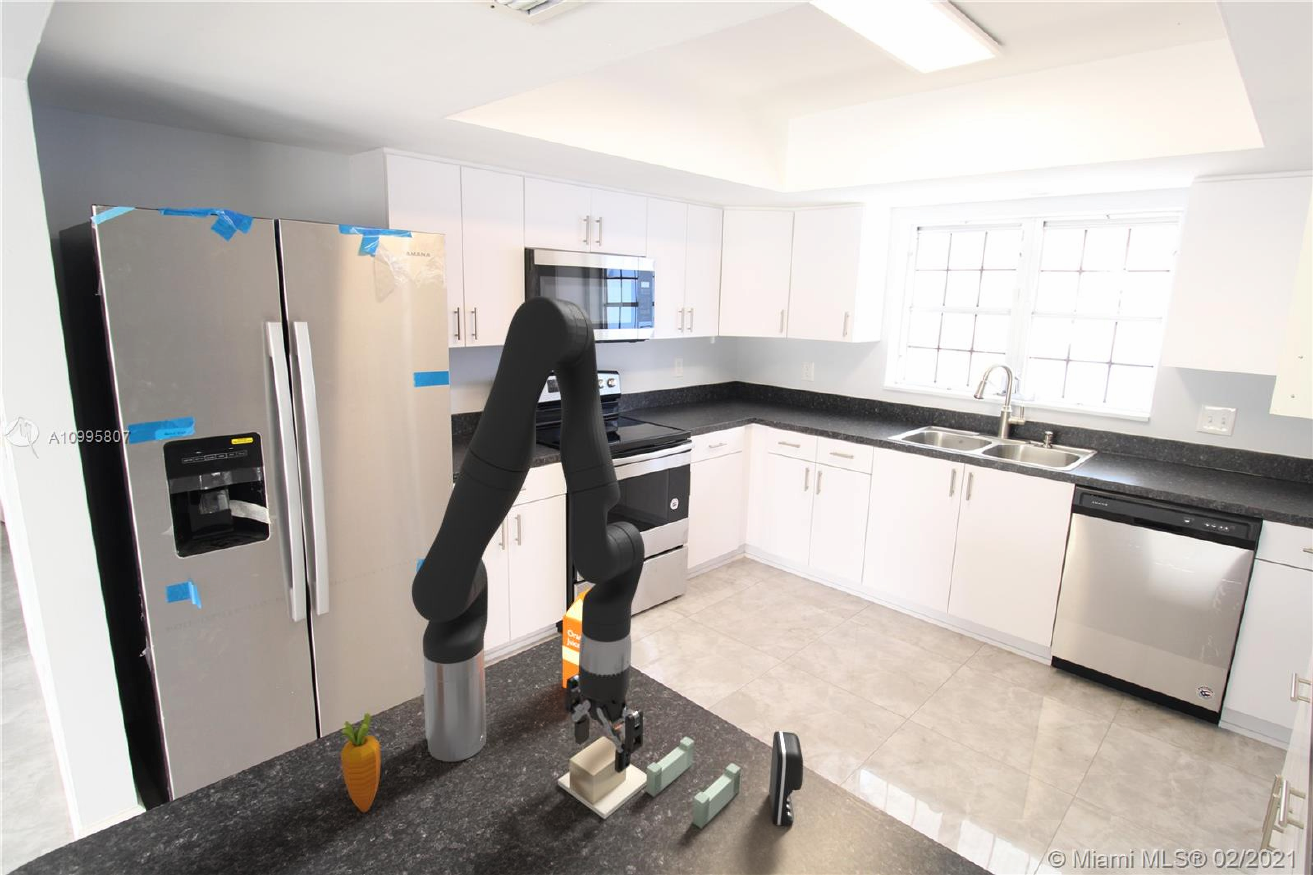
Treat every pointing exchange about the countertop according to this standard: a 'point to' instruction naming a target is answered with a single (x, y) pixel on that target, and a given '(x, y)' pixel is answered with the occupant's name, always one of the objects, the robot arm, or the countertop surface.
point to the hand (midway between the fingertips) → (601, 755)
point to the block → (595, 771)
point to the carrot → (361, 764)
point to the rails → (703, 801)
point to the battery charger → (784, 776)
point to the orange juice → (572, 638)
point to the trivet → (613, 798)
